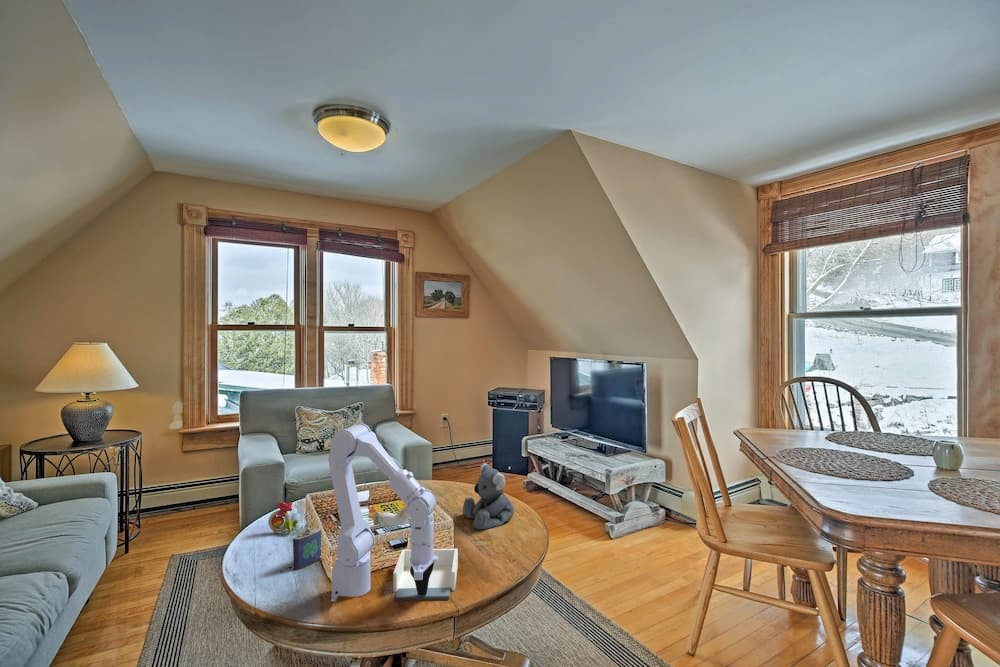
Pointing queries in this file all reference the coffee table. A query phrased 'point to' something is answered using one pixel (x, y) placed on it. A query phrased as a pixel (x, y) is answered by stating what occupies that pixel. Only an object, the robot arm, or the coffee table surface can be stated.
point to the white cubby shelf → (440, 575)
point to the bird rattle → (278, 521)
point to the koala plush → (489, 500)
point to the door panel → (431, 594)
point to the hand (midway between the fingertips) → (422, 593)
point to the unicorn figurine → (391, 518)
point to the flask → (307, 548)
